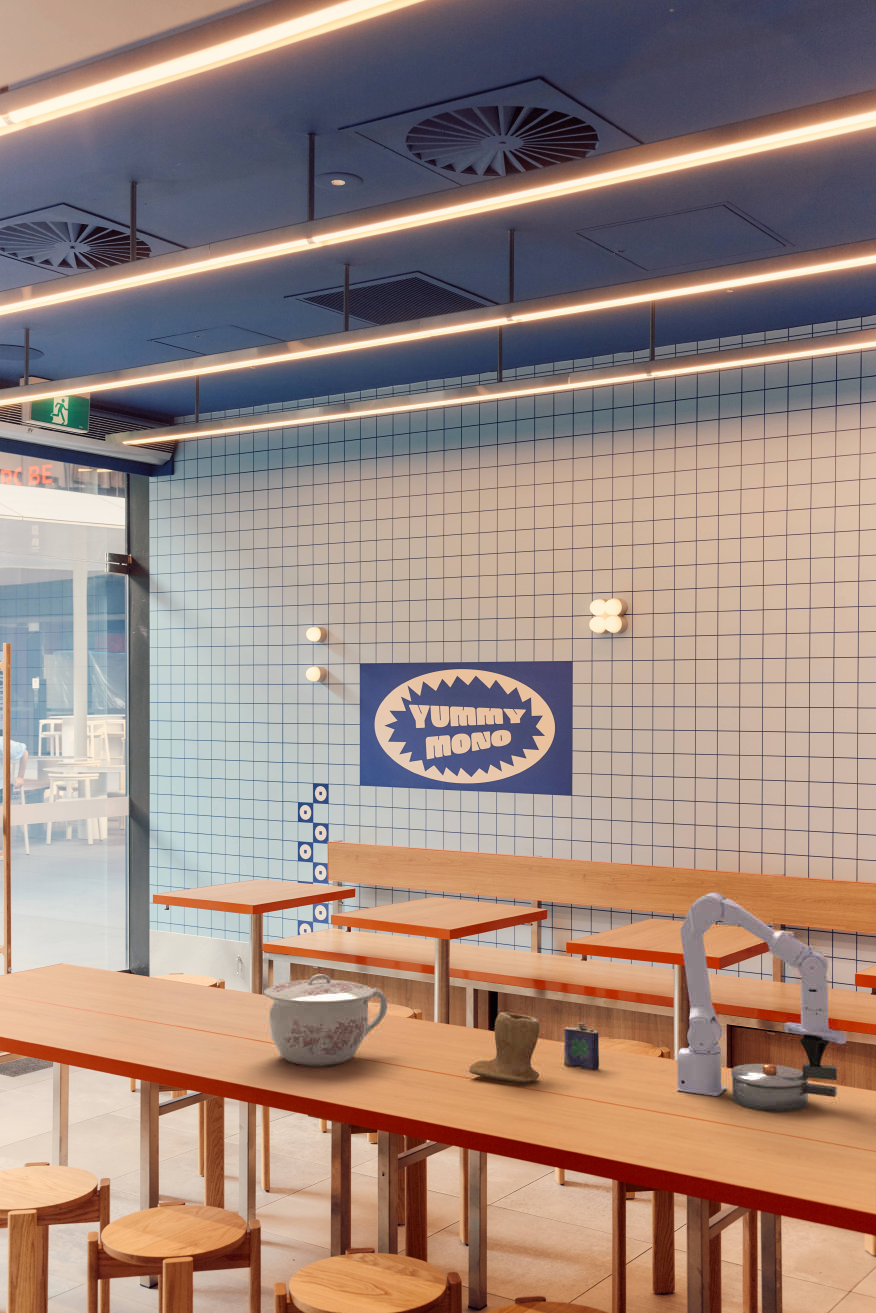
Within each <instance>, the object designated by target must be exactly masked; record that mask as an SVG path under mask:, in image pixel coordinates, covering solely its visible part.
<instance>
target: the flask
mask: <svg viewBox="0 0 876 1313" xmlns="http://www.w3.org/2000/svg"><path fill="white" fill-rule="evenodd" d="M585 1024H586V1022H585V1021H583V1022H580V1023H579V1022H578V1023H577V1025H578V1027H572V1026H571V1027H568V1026H567V1027H564V1030H563V1032H564V1033H563V1034H564V1040H563V1041H564V1042H563V1043H564V1046H563V1047H564V1048H563V1049H564V1050H563V1051H564V1055H563V1059H564V1060H563V1064H564V1066H566V1067H572V1068H576V1067H581V1068H580V1069H583V1068H587V1069H586V1070H588V1069H589V1070H590V1069H592V1070H591V1071H596V1070H597V1069H599V1070H600V1056H599V1055H600V1054H599V1053H600V1052H599V1051H600V1050H599V1045H600V1044H599V1041H600V1040H599V1032H598V1031H597V1030H595V1029H593V1028H591V1029H589V1028H588V1027H587V1026H586V1025H585ZM597 1071H598V1070H597Z"/></svg>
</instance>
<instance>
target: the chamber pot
mask: <svg viewBox="0 0 876 1313" xmlns="http://www.w3.org/2000/svg"><path fill="white" fill-rule="evenodd" d="M263 994H264V996H266V997H267V998H268V999H269V998H270V999H271V1000H273V1002H272V1003H273V1004H272V1005H271V1007H270V1008H269V1010H268V1026H269V1029H270V1030H269V1031H270V1036H271V1040H272V1042H273V1043H274V1045H275V1047H276V1048H277V1050H278V1052H279V1054H280V1056H282V1058H283V1059H285V1060H287V1061H289V1062H290V1063H294V1064H296V1065H301V1066H304V1067H305V1066H306V1067H326V1066H327V1067H328V1066H334V1065H339V1064H341V1063H343V1062H346V1061H348V1060H350V1059H352V1058H353V1057H354V1056H355V1054H356V1053H357V1050H359V1048H360V1046H361V1044H362V1042H363V1041H364V1039H365V1038H366V1036H367V1035H369V1033H370V1032H371V1031H372V1030H373V1029H375V1028H376V1027H377V1026H378V1025H379V1024H380V1023H381V1021H382V1020H383V1019H384V1017H385V1016H386V1014H387V1010H388V1000H387V997H386V995H385V993H384V992H383V991H382V990H381V989H379V988H378V987H374V988H372V987H370V986H368V985H365V984H361V983H359V982H353V981H349V980H340V979H331V978H330V976H328V975H325V974H322V973H319V974H315V975H312V976H311V978H310V979H301V980H293V981H287V982H281V983H278V984H275V985H272V986H269V987H267V988H266V989H265V990H263ZM375 997H376V998H378V999H379V1011H378V1013H377V1014H376V1015H375V1017H374V1018H373V1019H372V1021H371V1022H369V1000H371V998H375Z"/></svg>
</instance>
